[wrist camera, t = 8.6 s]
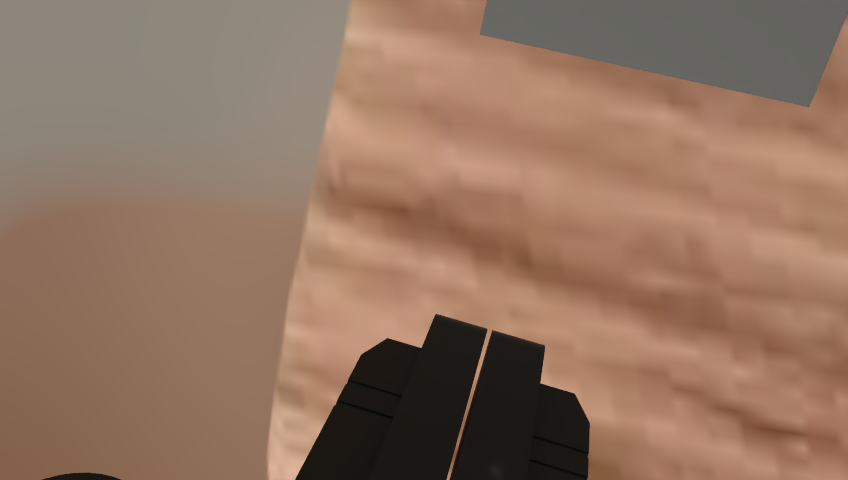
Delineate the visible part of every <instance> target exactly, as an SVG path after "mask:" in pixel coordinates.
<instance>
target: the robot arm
mask: <svg viewBox="0 0 848 480" xmlns="http://www.w3.org/2000/svg"><path fill="white" fill-rule="evenodd" d="M486 333H487V329H486V328H483V327H479V326H476V325H472V324H469V323H466V322H462V321H459V320H455V319H452V318H448V317H445V316H442V315H438V314H436V315H435V317H434V319H433V322H432V324H431V326H430V329H429V331H428V334H427V336H426V339H425V341H424V344H423V346H422V348H419V347H415V346H412V345H409V344H405V343H402V342H399V341H395V340H392V339H389V338H387V339H385V340H384V341H382V342H381V343H379V344H378V345H376V346H374V347H373V348H371V349H370V350H368V351H366V352H365V353H363V354H362V355H361V356H360V358H359V360H358V362H357V364H356V366H355V368H354V370H353V371H352V373H351V375H350V377H349V379H348V382H347V384H346V385H345V387H344V388H343V390H342V392H341V394H340V396H339V398H338V400H337V403H336V405H334V407H333V409H332V411H331V413H330V415H329V417H328V419H327V420H326V422H325V424H324V426H323V428H322V430H321V432H320V434H319V436H318V437H317V439H316V441H315V443H314V445H313V447H312V449H311V451H310V453H309V454H308V456H307V458H306V460H305V462H304V464H303V466H302V468H301V470H300V471H299V473H298V475H297V477H296V479H295V480H446V479H447V475H448V472H449V468H450V465H451V461H452V457H453V454H454V450H455V446H456V443H457V439H458V435H459V432H460V428H461V424H462V421H463V417H464V413H465V410H466V406H467V402H468V399H469V395H470V392H471V388H472V384H473V381H474V377H475V373H476V370H477V366H478V362H479V359H480V355H481V351H482V348H483V344H484V340H485V337H486ZM544 352H545V345H541V344H538V343H535V342H531V341H528V340H524V339H521V338H517V337H514V336H511V335H507V334H504V333H500V332H497V331H494V330H492V333H491V336H490V339H489V343H488V346H487V350H486V353H485V357H484V360H483V364H482V367H481V371H480V374H479V377H478V381H477V384H476V388H475V391H474V395H473V398H472V402H471V405H470V409H469V412H468V416H467V419H466V422H465V426H464V429H463V433H462V437H461V440H460V444H459V447H458V451H457V454H456V458H455V462H454V465H453V469H452V473H451V477H450V480H587V478H588V458H587V457H588V453H589V429H590V423H589V421H588V419H587V417H586V415H585V413H584V411H583V409H582V407H581V405H580V403H579V401H578V399H577V397H576V395H575V394H574V393H570V392H567V391H564V390H560V389H557V388H554V387H550V386H547V385H544V384H540V381H541V373H542V366H543V359H544ZM43 480H120V479H117V478H115V477H112V476H107V475H103V474H96V473H95V474H94V473H71V474H64V475H58V476H54V477H51V478H46V479H43Z"/></svg>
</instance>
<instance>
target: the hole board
mask: <svg viewBox="0 0 848 480" xmlns="http://www.w3.org/2000/svg"><path fill="white" fill-rule="evenodd" d="M847 13H848V0H487V3H486V8H485V13H484V17H483V22H482V27H481V32H480V35H484V36H489V37H494V38H498V39H503V40H507V41H512V42H516V43H521V44H525V45H530V46H534V47H539V48H543V49H548V50H552V51H557V52H562V53H566V54H571V55H575V56H580V57H584V58H589V59H593V60H598V61H602V62H607V63H611V64H616V65H620V66H625V67H630V68H634V69H639V70H643V71H648V72H652V73H657V74H661V75H666V76H670V77H675V78H679V79H684V80H688V81H693V82H698V83H702V84H707V85H711V86H716V87H720V88H725V89H729V90H734V91H738V92H743V93H747V94H752V95H756V96H761V97H766V98H770V99H775V100H779V101H784V102H788V103H793V104H797V105H802V106H806V107H809V106H810V104H811V101H812V99H813V96H814V94H815V91H816V89H817V87H818V84H819V82H820V79H821V77H822V74H823V72H824V69H825V67H826V64H827V62H828V59H829V57H830V55H831V52H832V50H833V47H834V45H835V42H836V40H837V37H838V35H839V32H840V30H841V27H842V25H843V23H844V20H845V18H846V15H847Z"/></svg>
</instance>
